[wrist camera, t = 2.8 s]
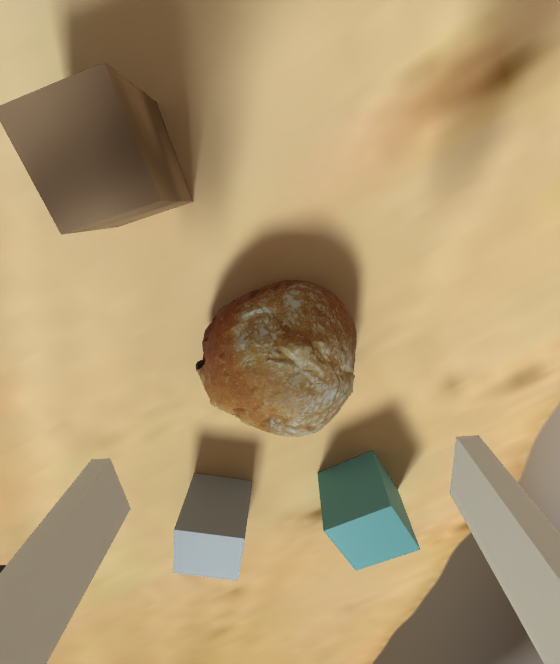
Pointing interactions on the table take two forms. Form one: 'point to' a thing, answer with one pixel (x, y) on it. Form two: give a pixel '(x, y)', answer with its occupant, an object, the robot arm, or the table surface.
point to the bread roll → (281, 358)
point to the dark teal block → (364, 512)
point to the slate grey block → (212, 527)
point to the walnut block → (96, 151)
